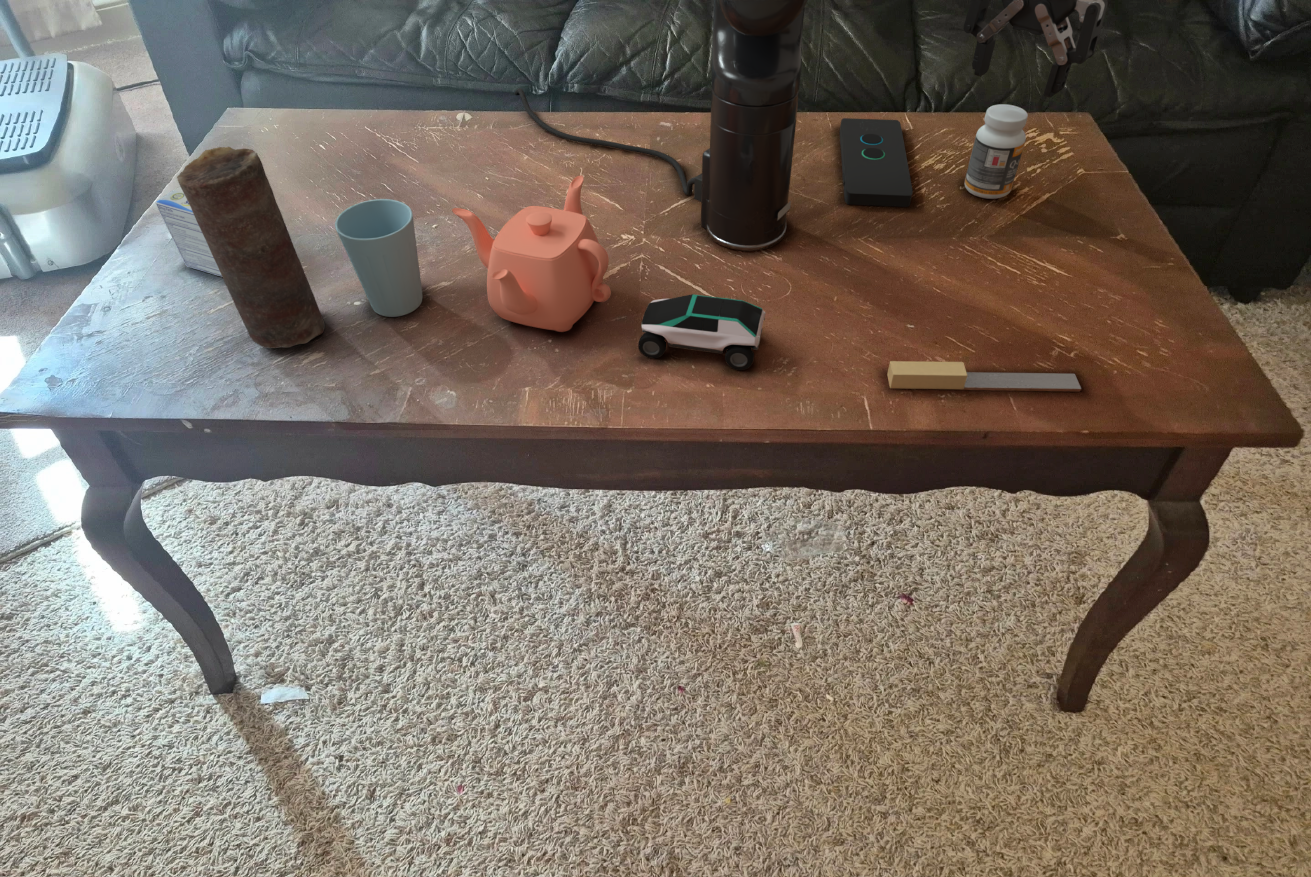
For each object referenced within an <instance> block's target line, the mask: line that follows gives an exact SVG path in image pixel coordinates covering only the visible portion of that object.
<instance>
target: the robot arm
mask: <svg viewBox="0 0 1311 877" xmlns="http://www.w3.org/2000/svg"><path fill="white" fill-rule="evenodd" d="M808 1H809V0H713V15H712V16H713V17H712V18H713V19H712V25H713V26H712V39H711V40H712V42H711V80H710V81H711V83H710V84H711V85H710V86H711V88H710V90H711V91H710V126H709V127H710V131H709V147H708V148H707V149H706V150H704V151H703V153H702V156H701V157H702V158H701V159H702V160H701V173H699V174H698V175H696V176H695V177H691V178H689V179H688V180H687V178H686V174H685V172H684V170H683V168H682V166H681V165H680V163H679V162H678V161H677V160H676V159H675V158H673V156H670V155H669V154H667V153H664V152H661V151H658V150H655V149H651V148H647V147H641V146H635V145H629V144H624V143H619V142H614V141H609V140H603V139H597V138H590V137H584V136H577V135H573V134H569V133H566V132H563V131H560V130H558V129H556V128H553V127H551V126H550V125H549V124H547V123H546V122H544V121H543V120H542V119H541V118H539V116H538V115H537V114H536V113H535V112H534V111H533V110H532V109H531V107H530V104H529V102H528V100H527V97H526V96H527V95H526V94H525V92H524V90H523V89H522V88H520V87H519V88H517V89H516V90H515V91H514V95H515V96H519V97H520V100H521V103H522V105H523V108H524V110H525V112H526V114H527V115H528V116H529V117H530V118H531V119H532V120H533V121H534V123H536V124H537V125H538V126H539V127H540V128H542V130H545V131H546V132H548V133H550V134H551V135H553V136H556V137H559V138H561V139H563V140H568V141H571V142H576V143H581V144H588V145H595V146H602V147H606V148H612V149H617V150H622V151H626V152H632V153H639V154H643V155H647V156H654V157H656V158H658V159H661V160H664V161H665V162H667V163H669V164H670V165H672V166H673V167H674V169H675V170H676V172H677V174H678V177H679V180H680V182H681V186H682V190H683V193H684V195H686V196H691V195H692V194H693V199H694V200H695V201H698V202H699V203H700V204H701V206H700V227H702V228H704V229H705V230H706V232H707V235H708V237H709V238H710V239H711V240H712V241H714V242H715V243H717V244H718V245H720V246H721V247H724V248H727V249H730V250H736V251H746V252H751V251H752V252H753V251H761V250H765V249H768V248H771V247H774V246H775V245H777V244H779V243H780V242H781V241H782V240H783V239H784V237H785V236H786V233H787V215H788V211H789V210H790V209H791V205H792V204H791V203H792V201H791V200H790V201H789V196H790V186H791V177H792V166H793V158H794V156H793V155H794V148H795V137H796V126H797V117H798V116H797V115H798V106H799V96H800V87H801V77H802V62H803V61H802V59H803V58H802V57H803V56H802V54H803V29H804V18H805V8H806V5H807V3H808ZM990 2H991V0H970V2H969V5H968V8H967V12H966V17H965V20H964V24H963V32H964V33H965V34H971V35H972V36H973V37H974V38H975V40H976V45H975V49H974V53H973V59H972V62H971V67H972V70H974V71H973V72H974V73H973V75H974V76H977V77H983V76H984V75H986V74H987V73H988V71H989V69H990V66H991V62H992V57H993V55H994V54H993V53H994V50H995V45H996V41H997V39H996V38H995V36H996V35H997V34H998V33H999V32H1001V31H1002V30H1003V29H1004V28H1005V27H1007V26H1008V25H1009V24H1010V26H1012V29H1014V30H1016V31H1027V32H1028V33H1030V34H1032V35H1035V36H1041V35H1044V38H1045V41H1046V44H1047V46H1048V47H1050V48H1051V50H1052V53H1053V57H1054V59H1055V62H1054V63H1052V65H1051V68H1050V72H1049V75H1048V78H1047V82H1046V84H1045V89H1044V91H1043V97H1046V98H1052V97H1053V96H1054V95H1057V94H1058V93H1059V92H1061V91H1062V90H1063V88H1065V86H1066V83H1067V80H1068V77H1069V73H1070V70H1071V67H1072V65H1073V64H1077V65H1082V64H1083V63H1085V62H1087V60H1089V59H1090V58H1091V57H1093V56H1094V55H1095V53H1096V49H1097V47H1098V46H1097V45H1098V42H1099V39H1100V34H1101V32H1102V27H1103V23H1104V20H1105V17H1106V12H1107V9H1108V4H1109V3H1108V0H1001V3H1002V6H1003V10H1002V11H1001V12H999V13H998V15H996V16H995V17H994V18H993V19H992V20H990V22H989V23H986V22H985V20H986V16H987V13H988V9H989V7H990ZM1075 11H1077V13H1078V20H1079V23H1081V28H1080V32H1079V36H1078V40H1077V44H1075V41H1074V39H1073V38H1074V37H1073V28H1072V25H1071V22H1070V19H1069V16H1070V15H1072V14H1073V13H1074V12H1075ZM693 186H694V187H693ZM693 192H694V193H693Z"/></svg>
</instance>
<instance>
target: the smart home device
mask: <svg viewBox="0 0 1311 877" xmlns="http://www.w3.org/2000/svg"><path fill="white" fill-rule="evenodd" d="M902 129H903V128H902V124H901V121H899V120H897V119H881V118H880V119H877V118H849V117H847V118H846V117H844V118H841V120H840V125H839V144H840V157H841V172H842V186H843V197H844V202H845V204H847V205H850V206H853V205H854V206H875V207H898V208H900V207H901V208H909V207H910V206H911V201H912V197H913V193H914V192H913V187H912V180H911V174H910V169H909V163H908V158H907V152H906V146H905V142H904V137H903V136H904V135H903V130H902Z"/></svg>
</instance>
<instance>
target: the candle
mask: <svg viewBox="0 0 1311 877" xmlns="http://www.w3.org/2000/svg"><path fill="white" fill-rule="evenodd" d="M176 179H177V180H176V181H177V183H178V184H179V186H180V187H181V189H182V191H183V193H184V195H185V197H186V199H187V201H188V202H189V205H190V207H191V209H192V211H193V214H194V216H195V218H196V221H197V223H198V225H199V227H200V229H201V231H202V233H203V236H204V238H205V240H206V242H207V244H208V246H209V249H210V251H211V253H212V255H213V258H214V260H215V262H216V264H217V266H218V268H219V271H220V273H221V275H222V277H221V278H222V279H223V282H224V284H225V287H226V288H227V290H228V293H229V295H230V297H231V299H232V301H233V303H234V306H235V308H236V309H237V312H238V314H239V316H240V318H241V321H242V323H243V325H244V327H245V330H246V331H247V334H248V337H250V339H251V340H252V341H253V342H254V343H255V344H257V345H258V346H261V347H263V348H265V349H267V348H268V349H278V348H291V347H293V346H297V345H302V344H307V343H309V342H310V341H311V340H314V339H315V338H316V337H318V336H321V335H322V334H323V333H324V331H325V327H326V326H325V321H324V318H323V316H322V313H321V311H320V308H319V305H318V303H317V300H316V298H315V294H314V292H313V289H312V288H311V285H310V282H309V280H308V278H307V275H306V273H305V270H304V267H303V265H302V263H301V260H300V258H299V255H298V253H297V251H296V249H295V248H296V247H295V246H294V244H293V240H292V238H291V235H290V232H289V230H288V227H287V225H286V222H285V220H284V217H283V215H282V212H281V210H280V207H279V205H278V202H277V200H276V197H275V194H274V191H273V188H272V186H271V184H270V181H269V179H268V176H267V174H266V171H265V168H264V165H263V163H262V160H261V158H260V157H259V155H258V153H257V152H256V151H255V150H254V149H251V148H235V149H234V148H233V147H231V146H223V147H222V146H218V147H214V148H210V149H205V150H204V151H202V152H201V154H200V155H199V156H198V157H197V158H195V159H193V160H192V161H191V162H189V163H188V164H187V165H185V166H184V169H183V170H182V171H180V173H179V174H178V175H176Z"/></svg>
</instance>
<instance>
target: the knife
mask: <svg viewBox="0 0 1311 877" xmlns="http://www.w3.org/2000/svg"><path fill="white" fill-rule="evenodd" d="M886 375H887V379H888V385H889V388H890V389H909V390H910V389H912V390H963V391H999V392H1000V391H1001V392H1002V391H1004V392H1005V391H1006V392H1009V391H1010V392H1016V391H1017V392H1072V393H1073V392H1076V393H1077V392H1078V393H1080V392H1081V391H1082V386H1081V385H1080V383H1079V382H1080V381H1079V380H1078V378H1077V376H1076V374H1075V373H1060V372H1059V373H1055V372H1054V373H1053V372H1052V373H1051V372H1050V373H1049V372H1048V373H1047V372H982V371H981V372H979V371H978V372H977V371H976V372H975V371H974V372H973V371H967V369H966V366H965V363H964V362H963V361H922V360H921V361H918V360H917V361H916V360H915V361H913V360H912V361H907V360H906V361H905V360H890V361H889V365H888V370H887V374H886Z"/></svg>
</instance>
